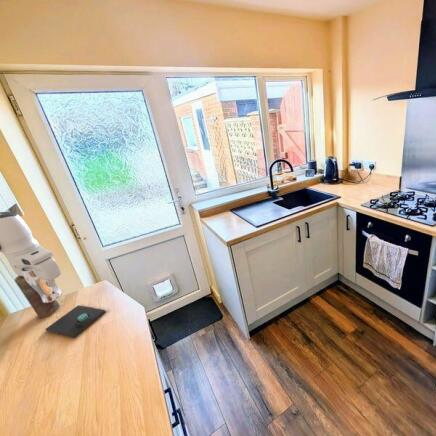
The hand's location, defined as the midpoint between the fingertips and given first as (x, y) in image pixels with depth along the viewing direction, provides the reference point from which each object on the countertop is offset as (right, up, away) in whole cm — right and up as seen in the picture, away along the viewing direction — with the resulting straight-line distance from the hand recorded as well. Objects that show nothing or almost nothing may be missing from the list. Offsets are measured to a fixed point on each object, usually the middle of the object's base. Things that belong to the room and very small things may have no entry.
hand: (46, 285), depth 93 cm
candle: (-14, -16, +16) cm, 27 cm away
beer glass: (0, -6, +3) cm, 6 cm away
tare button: (+10, -15, +6) cm, 19 cm away
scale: (+5, -17, +9) cm, 20 cm away
